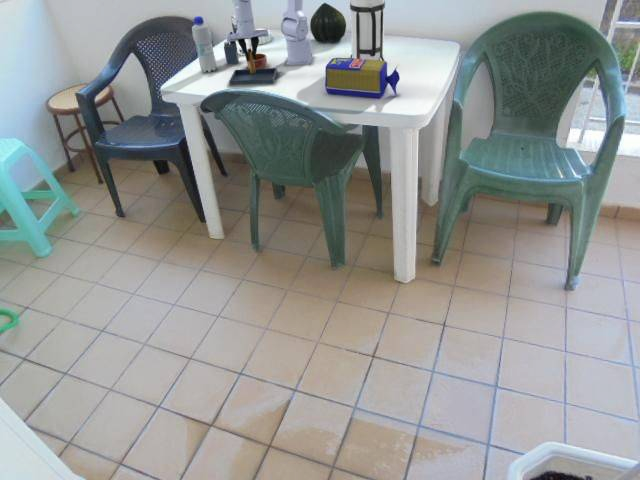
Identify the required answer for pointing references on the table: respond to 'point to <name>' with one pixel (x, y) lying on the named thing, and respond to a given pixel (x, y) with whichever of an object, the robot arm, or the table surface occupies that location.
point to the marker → (251, 61)
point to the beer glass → (235, 30)
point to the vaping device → (231, 52)
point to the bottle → (204, 45)
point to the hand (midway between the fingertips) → (251, 59)
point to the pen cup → (259, 61)
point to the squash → (327, 24)
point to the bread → (359, 77)
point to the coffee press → (367, 29)
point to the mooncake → (264, 39)
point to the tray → (253, 76)
